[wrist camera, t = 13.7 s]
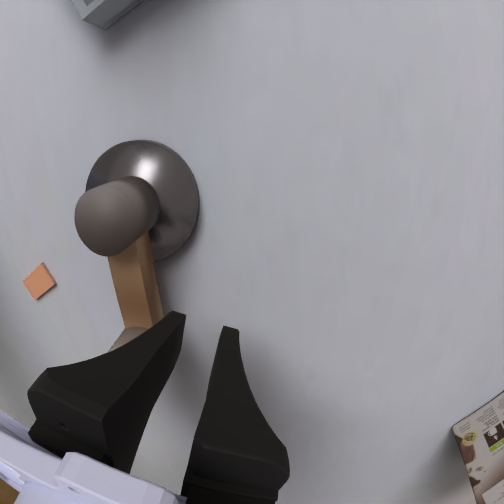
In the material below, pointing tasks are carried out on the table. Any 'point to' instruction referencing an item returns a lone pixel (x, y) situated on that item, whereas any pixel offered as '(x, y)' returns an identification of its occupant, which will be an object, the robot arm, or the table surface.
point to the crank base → (155, 188)
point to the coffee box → (484, 450)
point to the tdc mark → (39, 281)
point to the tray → (103, 10)
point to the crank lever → (125, 247)
